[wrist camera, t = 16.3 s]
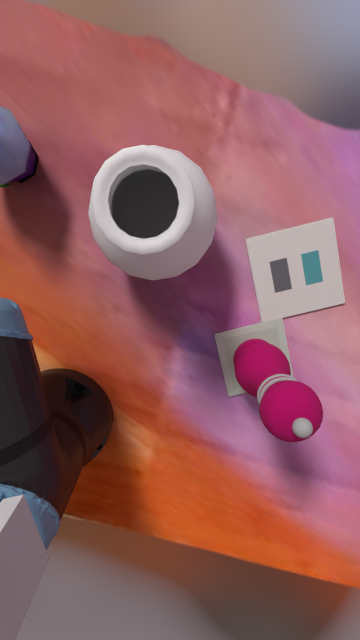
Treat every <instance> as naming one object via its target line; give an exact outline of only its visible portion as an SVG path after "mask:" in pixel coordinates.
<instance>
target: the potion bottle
mask: <svg viewBox="0 0 360 640" xmlns="http://www.w3.org/2000/svg"><path fill="white" fill-rule="evenodd" d="M38 158H39V157H38V156H37V154H36V152H35V150H34V149H33V147H32V145H31V143H30V142H29V141H28V140H27V138H26V136H25V134H24V133H23V131H22V129H21V127H20V126H19V124H18V122H17V121H16V119H15V118H14V116H13V114H12V113H11V111H10V110H9V109H6V108H3V107H0V187H8V186H9V183H10V182H15V181H17V182H20V183H22V182H23V181H25V180H27V179H29V178H30V177H32V176H34V175H35V172H36V168H37V163H38Z"/></svg>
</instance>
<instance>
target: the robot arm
mask: <svg viewBox="0 0 360 640" xmlns="http://www.w3.org/2000/svg"><path fill="white" fill-rule="evenodd" d="M32 340H33V336H32V335H31V334H29V331H28V328H27V325H26V322H25V319H24V316H23V313H22V311H21V309H20V307H19V306H18V305H17V304H16V303H15V302H14V301H12V300H10V299H7V298H0V640H15V639H16V636H17V634H18V631H19V629H20V626H21V624H22V622H23V619H24V617H25V614H26V612H27V610H28V607H29V604H30V602H31V600H32V597H33V595H34V593H35V590H36V588H37V585H38V583H39V580H40V578H41V575H42V573H43V570H44V568H45V566H46V563H47V561H48V558H49V557H48V555H47V552H46V550H47V548H48V546H49V544H50V542H51V540H52V539H53V537H54V536H55V535H56V533H57V532H58V529H59V526H60V524H59V522H60V520H61V518H62V516H63V513H64V511H65V508H66V506H67V504H68V501H69V499H70V496H71V494H72V492H73V489H74V487H75V485H76V482H77V480H78V477H79V475H80V473H81V470H82V468H83V467H84V466H85V465H86V464H87V463H88V462H90V461H91V460H92V459H93V458H94V457H95V456H96V455H97V454H98V453H99V452H100V451H101V450H102V448H103V447H104V445H105V443H106V442H107V439H108V437H109V434H110V431H111V428H112V423H113V413H112V407H111V404H110V401H109V399H108V397H107V395H106V393H105V392H104V391H103V389H102V388H101V387H100V386H99V385H98V384H97V383H96V382H95V381H94V380H92V379H91V378H89V377H88V376H86V375H84V374H82V373H80V372H77V371H73V370H69V369H50V370H45V371H42V372H40V368H39V364H38V361H37V357H36V354H35V350H34V347H33V343H32Z"/></svg>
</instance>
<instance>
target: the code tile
mask: <svg viewBox="0 0 360 640" xmlns="http://www.w3.org/2000/svg"><path fill="white" fill-rule="evenodd" d="M245 241H246V246H247V251H248V256H249V261H250V266H251V271H252V276H253V282H254V287H255V292H256V297H257V302H258V307H259V312H260V317H261V322H262V323H263V322H268V321H272V320H276V319H280V318H284V317H289V316H293V315H297V314H301V313H305V312H310V311H314V310H318V309H322V308H327V307H331V306H335V305H339V304H343V303H345V298H344V291H343V284H342V277H341V270H340V262H339V255H338V248H337V241H336V234H335V226H334V219H333V217H332V218H328V219H324V220H320V221H316V222H311V223H307V224H303V225H299V226H295V227H291V228H287V229H283V230H279V231H275V232H271V233H267V234H263V235H259V236H255V237H251V238H247V239H245Z"/></svg>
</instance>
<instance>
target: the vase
mask: <svg viewBox="0 0 360 640" xmlns="http://www.w3.org/2000/svg"><path fill="white" fill-rule="evenodd" d="M88 215H89V220H90V224H91V229H92V233H93V238H94V240H95V242H96V243H97V245H98V246H99V248H100V249H101V251H102V252H103V254H104V255H105V257H106V258H107V260H108V261H109V262H111V263H112V264H114V265H115V266H117V267H118V268H119V269H121V270H122V271H124V272H125V273H127V274H128V275H130V276H135V277H139V278H144V279H148V280H153V281H154V280H160V279H165V278H171V277H177V276H179V275H180V274H182V273H183V272H185V271H186V270H188V269H189V268H191V267H193V266H194V265H196V264H197V263H198V262H199V261H200V259H201V258H202V256H203V255H204V253H205V252H206V251H207V249H208V248H209V246H210V245H211V244H212V240H213V236H214V232H215V228H216V224H217V219H218V215H217V208H216V201H215V194H214V190H213V188H212V187H211V185H210V183H209V181H208V180H207V178H206V176H205V174H204V173H203V171H202V169H201V168H200V167H199V166H198V165H196V164H195V163H194V162H193V161H191V160H190V159H189V158H187V157H186V156H185V155H183V154H182V153H181V152H180V151H176V150H172V149H168V148H164V147H160V146H156V145H151V146H146V145H140V146H135V147H129V148H124V149H122V150H120V151H119V152H117V153H116V154H114V155H113V156H112V157H110V158H109V159H107V160H106V161H105V162H104V164H103V165H102V167H101V169H100V170H99V172H98V174H97V175H96V177H95V178H94V182H93V187H92V193H91V199H90V205H89V212H88Z"/></svg>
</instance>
